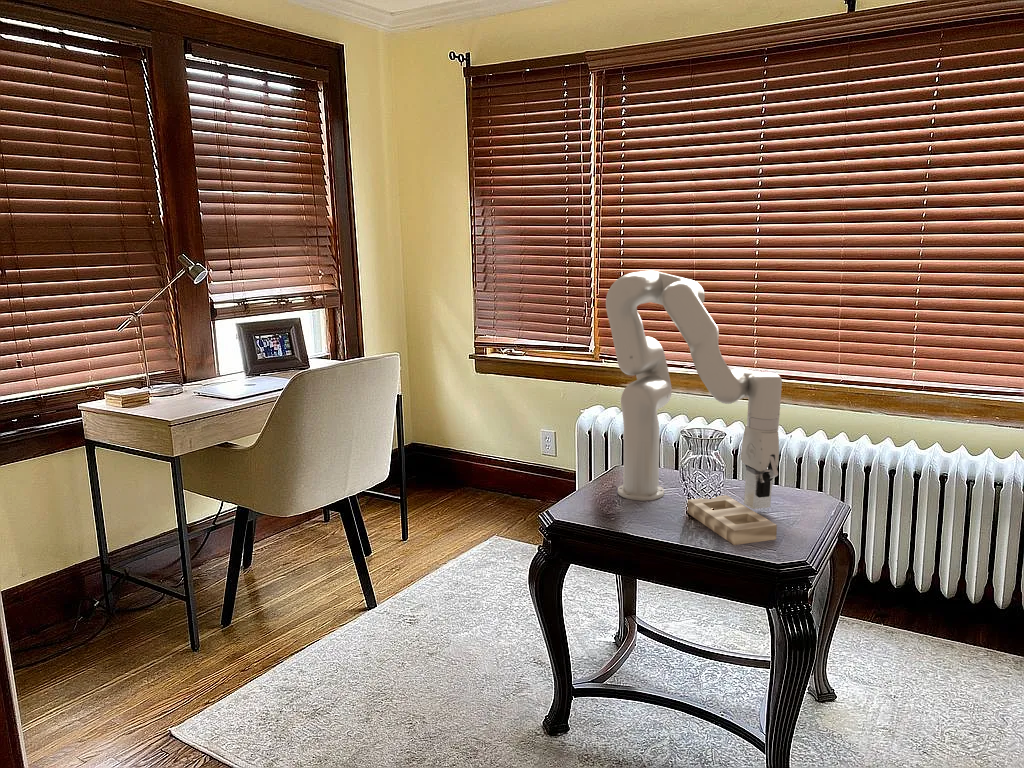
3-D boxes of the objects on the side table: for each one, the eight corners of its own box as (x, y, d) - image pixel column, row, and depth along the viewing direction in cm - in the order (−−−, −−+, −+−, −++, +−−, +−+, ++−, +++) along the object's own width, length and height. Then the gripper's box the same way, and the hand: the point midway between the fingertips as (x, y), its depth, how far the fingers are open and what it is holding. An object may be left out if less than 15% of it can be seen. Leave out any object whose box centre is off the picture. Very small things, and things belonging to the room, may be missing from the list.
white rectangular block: (743, 503, 203) (746, 465, 201) (761, 501, 204) (763, 464, 202) (752, 509, 199) (755, 470, 197) (770, 507, 200) (773, 469, 198)
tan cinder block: (687, 513, 203) (687, 499, 202) (726, 508, 206) (726, 495, 205) (734, 545, 182) (734, 530, 181) (776, 539, 185) (776, 524, 184)
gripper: (731, 415, 204) (727, 484, 208) (769, 432, 188) (763, 506, 192) (757, 414, 206) (752, 481, 210) (796, 430, 190) (790, 503, 194)
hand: (757, 492), depth 201 cm, fingers closed on white rectangular block, 4 cm apart
